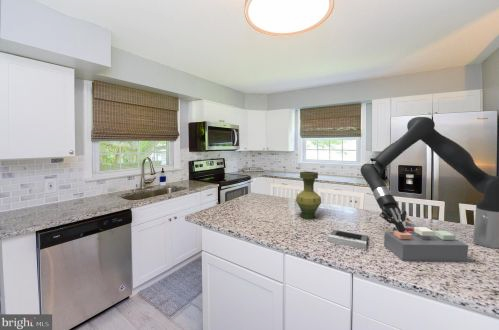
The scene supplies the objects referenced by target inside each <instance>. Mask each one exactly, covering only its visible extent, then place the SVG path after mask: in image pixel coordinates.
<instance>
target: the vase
mask: <svg viewBox="0 0 499 330" xmlns="http://www.w3.org/2000/svg"><path fill="white" fill-rule="evenodd" d="M299 178H300V179H302V181H303V190H302V191H301V192H299V193H298V194H297V195H296V197H295V198H296V199H295V202H296V203H297V206H298V208H299V209H300V211H301V215H300V218H301V219H303V220H308V221H309V220H310V221H311V220H315V219H316V211H317V210H318V208H319V207H320V205H321V204H322V197H321V196H320V195H319V194H318V193H316V191H314V184H315V181H316V180H317V179H318V178H319V173H318V172H317V171H301V172H300V173H299Z"/></svg>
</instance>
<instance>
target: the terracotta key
mask: <svg viewBox="0 0 499 330" xmlns="http://www.w3.org/2000/svg"><path fill="white" fill-rule="evenodd" d="M394 235H395V236H396V237H398V238H399V239H401V240H408V239H412V234H410V233H408V232H407V231H404V232H399V231H398V230H394Z"/></svg>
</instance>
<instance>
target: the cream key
mask: <svg viewBox="0 0 499 330" xmlns="http://www.w3.org/2000/svg"><path fill="white" fill-rule="evenodd" d="M414 232H416V233H418V238H420V239H422V240H429V238H430V236H434V232H435V230H432V229H430V228H429V227H426V226H422V227H421V226H414Z"/></svg>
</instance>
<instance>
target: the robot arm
mask: <svg viewBox="0 0 499 330" xmlns="http://www.w3.org/2000/svg"><path fill="white" fill-rule="evenodd" d="M435 125H436V124H435V121H434V119H432V118H431V117H428V116H416V117H412V118H410V119H409V121H408V122H407V125H406V129H407V131H406V132H405V133H404V135H402V136H401V137H399V138H398V139H397V140H396V141H394V142H392V143H391V144H389V145H388V146H387V147H385V148H384V149H383V150H382V151H381V152H380V153H378V154H377V155H376V156H375V158H374V160H375V161H374V163H373V164H371V163H364V164H363V165H362V166H361V167H360V174H361V176H362V177H363V179H364V180H365V181H366V183H367V185H368V186H369V188H370V191H371V192H372V194H373V197H374V199H375V200H376V203H377V205H378V207H379V208H380V210H381V213H379V217H381V218H382V219H384V220H385V221H386V222H387V223H389V224H390V225H391V224H392V225H394V226H395V227H396V228H397V230H398V231H399V232H404V231H405V228H406V226H404V225H403V224H402V222H404V221H405V218H406V217H407V215H406V214H407V211H406V210H401V208H400V207H399V206H398V202H397V200H396V199H395V197H394V195H393V194H392V192H391V190H390V189H389V187H387V185H386V183H385V181H384V180H383V179H382V178H381V175H382V173H384V171H385V170H386V168H387V167H388V166H389V165H390V164H391V163H393V161H394V160H396V159H397V158H398V157H399V156H400V155H402V154H403V153H404V152H405V151H406V150H408V149H410V147H412V146H413V145H414V144H416V143H417V142H419V141H422V142H423V143H424V144H426V145H427V146H428V147H429V148H430V149H431V151H433V152H434V153H435V154H436V155H437V156H438V157H439V158H440V159H441V160H442V161H443V162H444V163H446V164H447V165H449V166H450V167H451V168H452V169H453V170H455V171H456V172H457V173H458V174H459V175H461V176H462V177H463V178H465V179H466V181H467V182H468V183H469V184H470V185H471V186H472V187H473V188H474V189H475V190H476V191H477V192H479V193H482V194H484V195H483V199H482V200H479V201H477V202H476V205H475V214H474V215H475V216H474V217H475V218H474V228H473V229H474V230H473V240H472V241H473V243H475V244H476V245H479V246H481V247H486V248H491V249H499V176H496V175H490V174H488V172H487V173H486V172H485V171H483V170H482V169H481V168H480V167H479V166H477V165H476V163H475V160H474V157H473V156H472V155H471V154H470V152H469V151H467V150H466V149H465V148H464V147H463V146H461V145H460V144H459V143H457V142H456V141H454V140H452V139H450V138H448V137H447V136H444V135H443V134H441V133H440V132H438V131H437V130H436V129H435V127H436V126H435Z"/></svg>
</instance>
